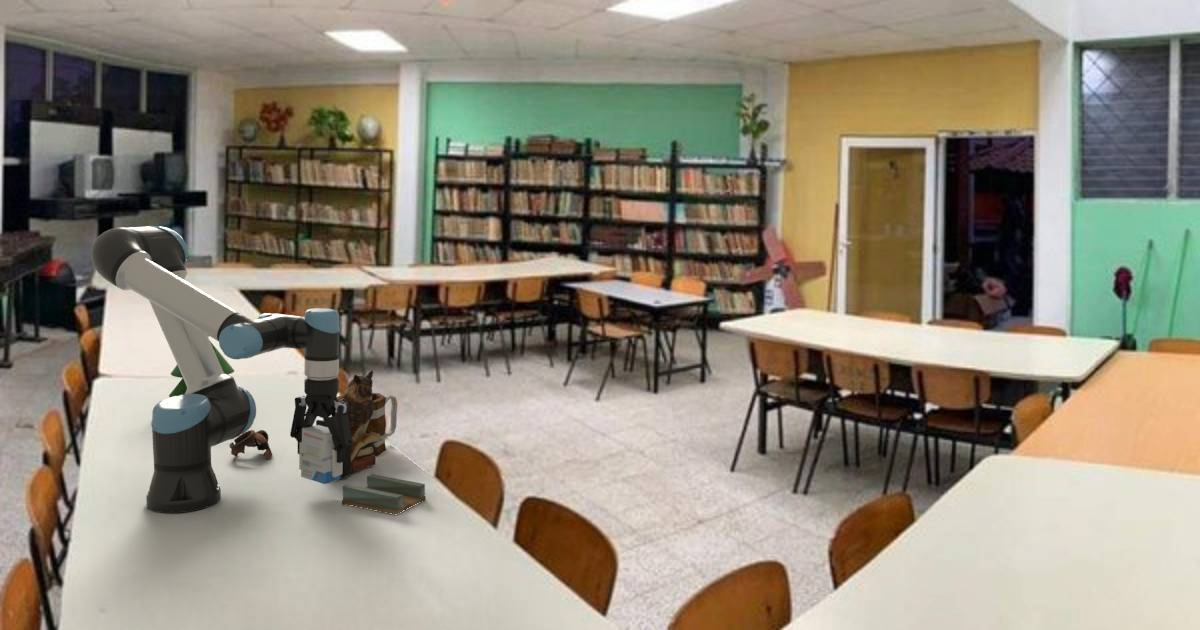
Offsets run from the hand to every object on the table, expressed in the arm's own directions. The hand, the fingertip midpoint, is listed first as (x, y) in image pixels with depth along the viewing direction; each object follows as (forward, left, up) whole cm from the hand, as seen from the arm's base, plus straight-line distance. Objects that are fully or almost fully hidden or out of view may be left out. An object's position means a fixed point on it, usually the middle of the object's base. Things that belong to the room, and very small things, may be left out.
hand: (320, 471), depth 207 cm
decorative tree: (+41, +82, -6) cm, 92 cm away
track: (+3, -16, -6) cm, 17 cm away
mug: (+35, +14, -6) cm, 38 cm away
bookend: (+18, +6, -6) cm, 20 cm away
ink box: (0, 0, -2) cm, 2 cm away
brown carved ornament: (+15, +36, -6) cm, 39 cm away
